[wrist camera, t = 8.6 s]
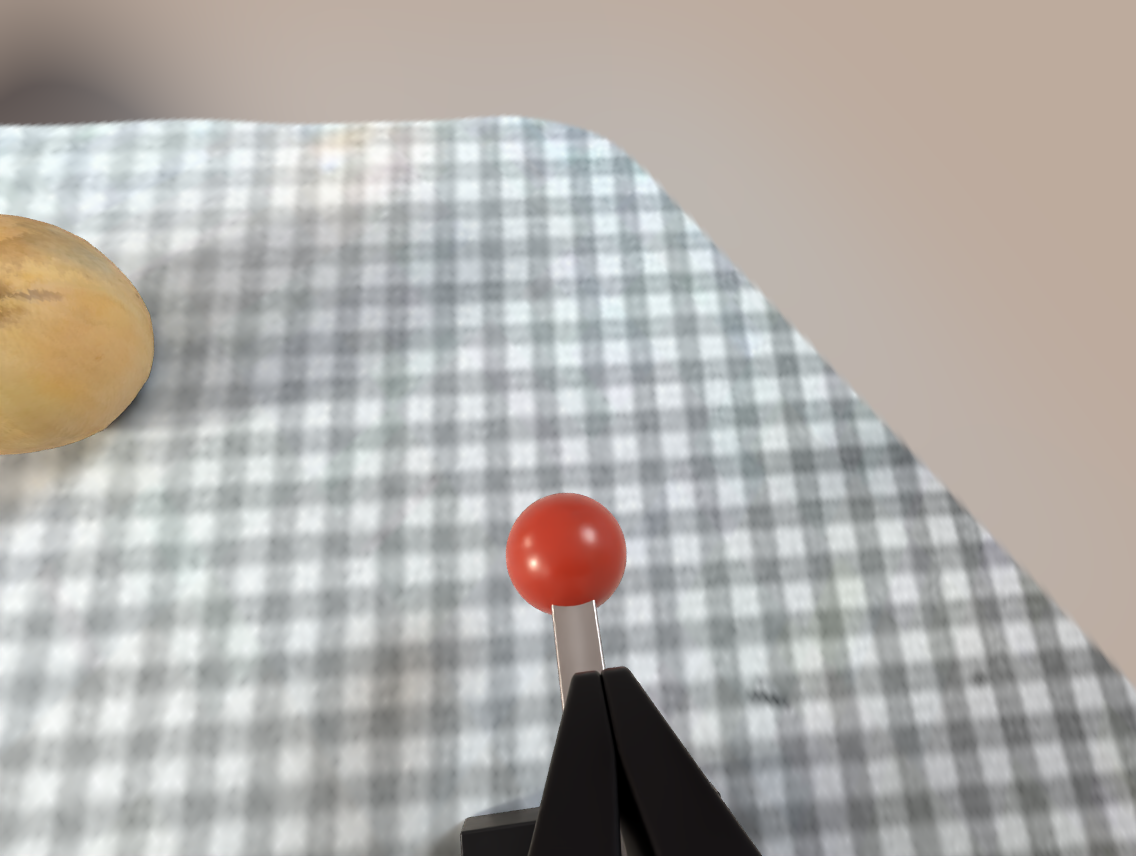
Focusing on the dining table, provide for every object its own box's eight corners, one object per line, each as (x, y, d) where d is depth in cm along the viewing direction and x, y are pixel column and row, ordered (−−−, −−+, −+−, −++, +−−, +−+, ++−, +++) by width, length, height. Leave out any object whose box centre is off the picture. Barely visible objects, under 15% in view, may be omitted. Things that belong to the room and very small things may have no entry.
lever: (507, 526, 17) (495, 479, 14) (612, 514, 17) (619, 465, 15) (578, 1479, 9) (582, 1790, 6) (775, 1435, 9) (863, 1717, 6)
